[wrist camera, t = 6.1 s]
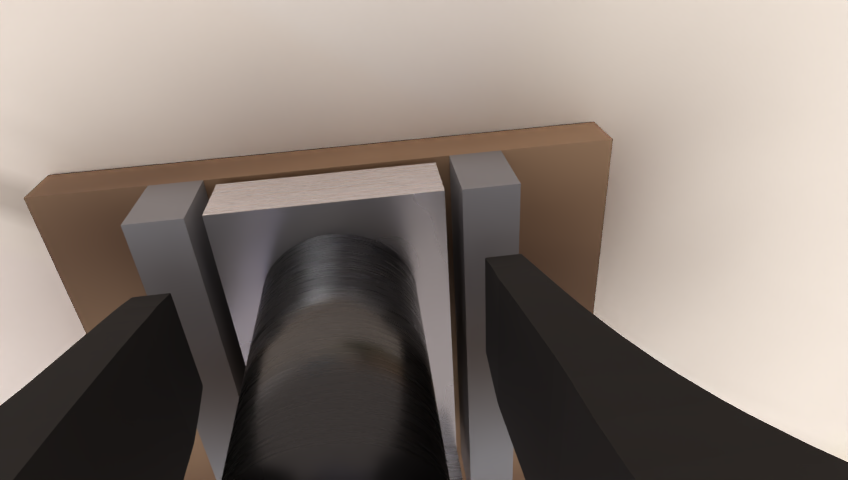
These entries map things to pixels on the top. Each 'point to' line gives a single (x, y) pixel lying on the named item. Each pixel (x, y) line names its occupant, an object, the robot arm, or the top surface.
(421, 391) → the ram
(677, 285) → the top surface
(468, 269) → the bench
